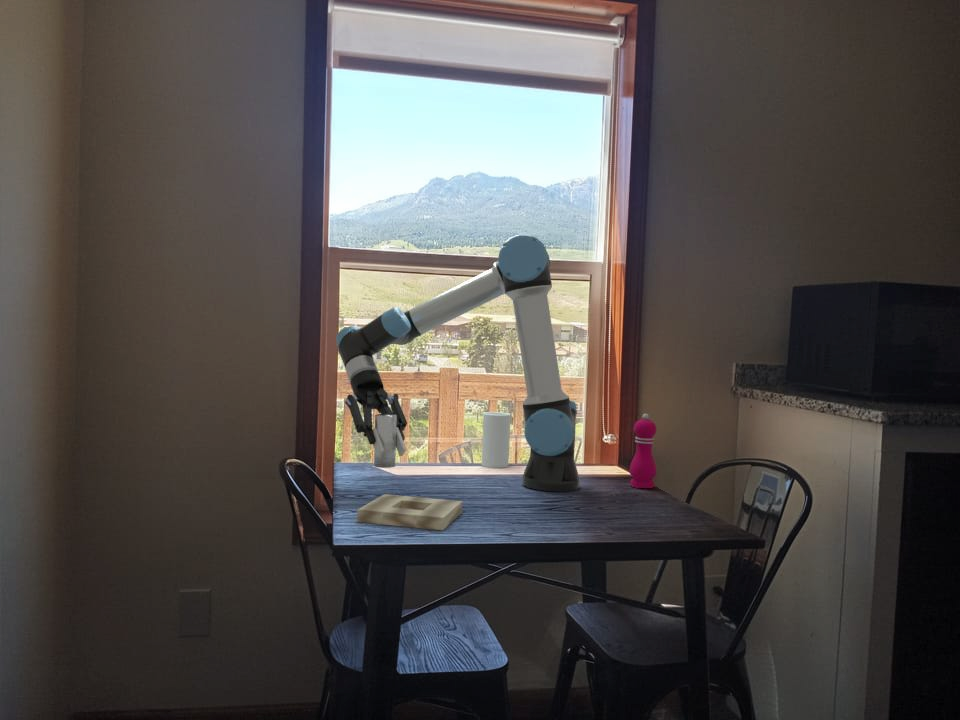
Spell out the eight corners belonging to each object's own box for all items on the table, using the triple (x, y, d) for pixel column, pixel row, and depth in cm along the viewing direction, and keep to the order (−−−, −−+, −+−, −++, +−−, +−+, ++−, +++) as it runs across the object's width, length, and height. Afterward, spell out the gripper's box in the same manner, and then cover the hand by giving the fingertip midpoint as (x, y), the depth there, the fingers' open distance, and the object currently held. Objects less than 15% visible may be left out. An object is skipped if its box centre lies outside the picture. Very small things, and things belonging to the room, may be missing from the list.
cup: (508, 468, 218) (511, 415, 218) (481, 467, 218) (483, 414, 218) (508, 464, 226) (510, 412, 226) (481, 462, 227) (483, 411, 226)
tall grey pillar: (398, 464, 174) (399, 414, 173) (391, 468, 169) (392, 416, 169) (378, 463, 175) (379, 412, 174) (370, 467, 170) (372, 414, 170)
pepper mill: (647, 484, 203) (651, 412, 202) (660, 489, 196) (664, 415, 195) (624, 484, 201) (627, 412, 200) (636, 489, 194) (639, 414, 193)
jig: (462, 512, 160) (462, 501, 160) (442, 530, 144) (443, 517, 144) (384, 505, 164) (384, 494, 163) (357, 521, 148) (357, 509, 148)
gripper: (392, 387, 189) (420, 460, 176) (326, 388, 179) (350, 465, 166) (402, 368, 185) (431, 441, 171) (334, 367, 175) (360, 445, 161)
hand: (391, 453), depth 169 cm, fingers closed on tall grey pillar, 5 cm apart
